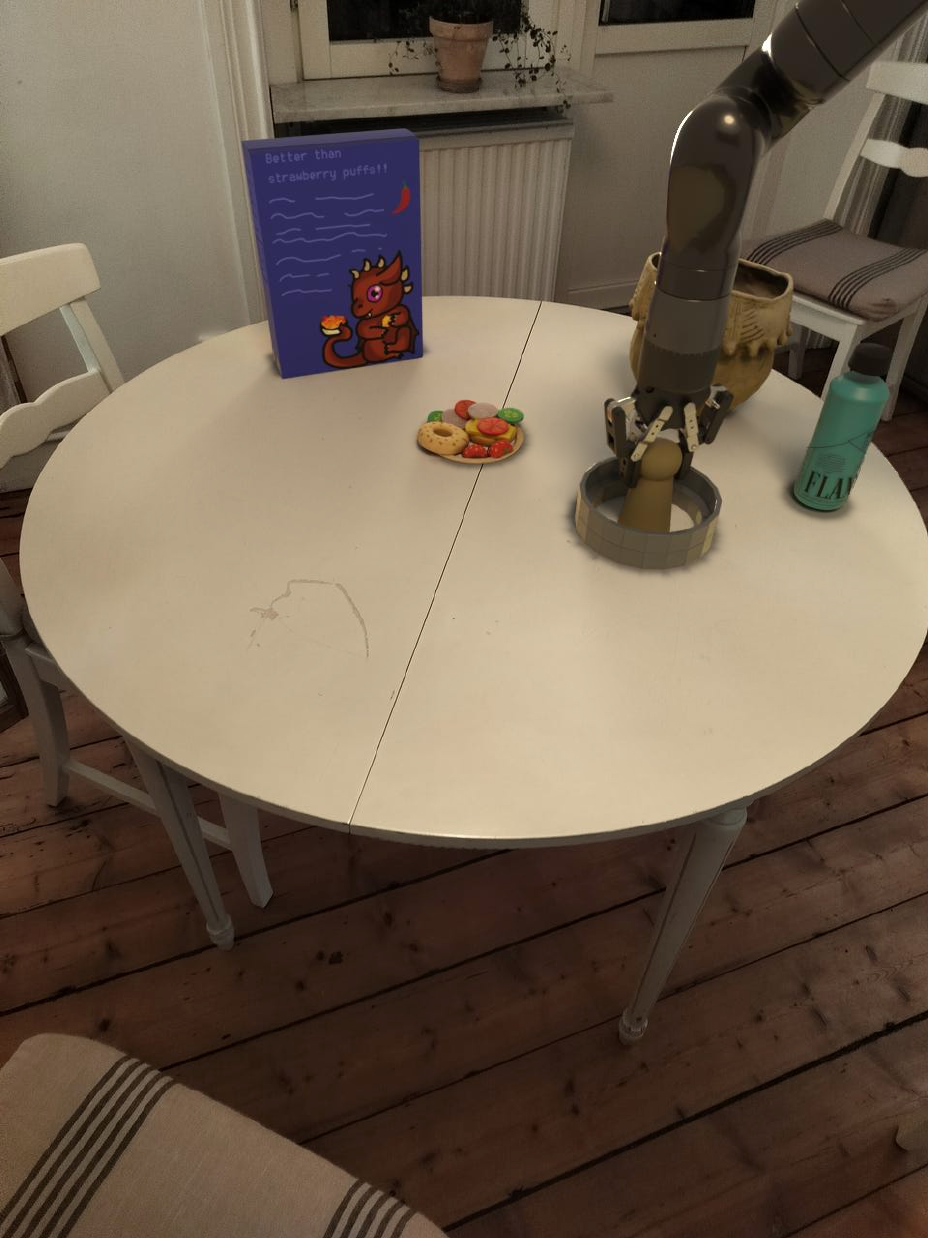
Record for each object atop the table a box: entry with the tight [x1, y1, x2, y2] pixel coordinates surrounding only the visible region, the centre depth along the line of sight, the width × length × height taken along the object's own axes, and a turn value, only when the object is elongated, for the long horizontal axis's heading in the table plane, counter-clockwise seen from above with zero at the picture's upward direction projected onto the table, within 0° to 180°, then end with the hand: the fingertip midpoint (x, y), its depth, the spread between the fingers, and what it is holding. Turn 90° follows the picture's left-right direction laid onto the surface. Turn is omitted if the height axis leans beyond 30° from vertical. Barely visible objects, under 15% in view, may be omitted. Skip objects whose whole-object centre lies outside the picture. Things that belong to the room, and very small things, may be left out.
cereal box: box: [240, 127, 424, 380], centre depth 116 cm, size 22×6×30 cm, turn 111°
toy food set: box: [416, 399, 525, 465], centre depth 109 cm, size 13×13×3 cm
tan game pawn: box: [617, 436, 682, 532], centre depth 92 cm, size 6×6×11 cm
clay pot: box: [628, 251, 794, 418], centre depth 111 cm, size 21×21×20 cm
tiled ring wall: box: [574, 455, 723, 571], centre depth 95 cm, size 16×16×6 cm
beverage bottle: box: [793, 342, 894, 511], centre depth 94 cm, size 6×7×20 cm
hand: (653, 479), depth 92 cm, fingers closed on tan game pawn, 5 cm apart
